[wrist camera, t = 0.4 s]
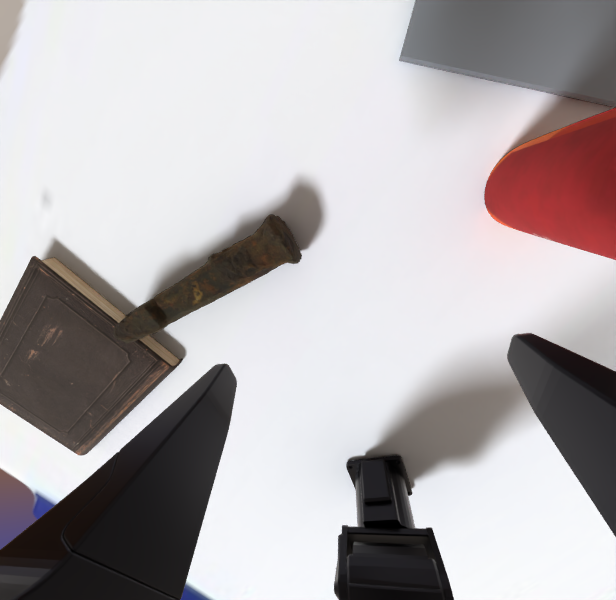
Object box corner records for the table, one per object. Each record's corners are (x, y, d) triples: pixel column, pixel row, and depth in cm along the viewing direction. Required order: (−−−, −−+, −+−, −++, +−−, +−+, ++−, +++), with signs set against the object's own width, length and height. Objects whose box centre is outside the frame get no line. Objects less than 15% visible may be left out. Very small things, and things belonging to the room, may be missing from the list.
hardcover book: (-8, 371, 33) (-32, 383, 31) (57, 251, 25) (31, 256, 23) (97, 442, 36) (82, 458, 34) (186, 357, 28) (173, 370, 26)
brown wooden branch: (284, 209, 20) (268, 213, 16) (306, 254, 22) (297, 268, 17) (124, 298, 26) (81, 318, 21) (149, 330, 27) (113, 355, 23)
